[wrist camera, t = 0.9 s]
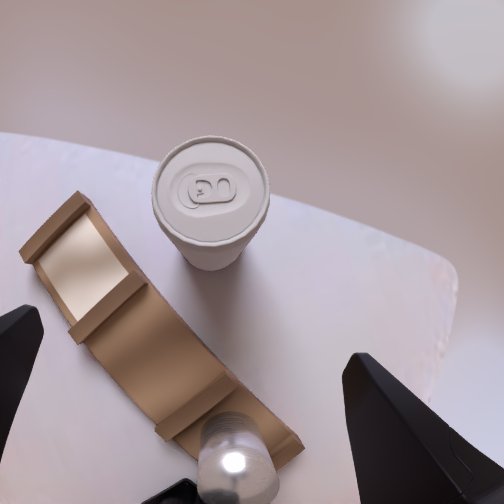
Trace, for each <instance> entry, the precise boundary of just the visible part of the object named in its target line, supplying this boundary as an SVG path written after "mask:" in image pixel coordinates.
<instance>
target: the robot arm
mask: <svg viewBox="0 0 504 504" xmlns="http://www.w3.org/2000/svg"><path fill="white" fill-rule="evenodd" d="M43 335H44V329H43V325H42V322H41V318H40V315H39V311H38V309H37V308H36V307H34V306H31V305H26V304H25V305H22V306H20V307H18V308H16V309H14V310H13V311H11V312H9V313H7V314H5V315H3V316H1V317H0V462H1V458H2V454H3V451H4V448H5V444H6V441H7V438H8V435H9V431H10V428H11V425H12V422H13V420H14V417H15V414H16V411H17V408H18V406H19V403H20V400H21V398H22V395H23V393H24V390H25V388H26V385H27V383H28V380H29V377H30V374H31V372H32V368H33V365H34V362H35V359H36V356H37V353H38V350H39V347H40V344H41V341H42V339H43ZM342 384H343V394H344V404H345V416H346V424H347V430H348V435H349V440H350V445H351V450H352V456H353V461H354V466H355V472H356V478H357V483H358V489H359V495H360V502H361V504H504V469H503V468H502V467H501V466H499V465H498V464H497V463H495V462H494V461H493V460H491V459H490V458H488V457H487V456H486V455H484V454H483V453H481V452H480V451H479V450H478V449H476V448H475V447H473V446H472V445H471V444H470V443H468V442H467V441H466V440H465V439H464V438H463V437H462V436H460V435H459V434H458V433H457V432H456V431H455V430H454V429H452V428H451V427H449V425H448V424H447V423H446V422H444V421H443V420H442V419H441V418H440V417H439V416H438V415H437V414H436V413H435V412H433V411H432V410H431V409H430V408H429V407H428V406H427V405H426V404H424V403H423V402H422V401H421V400H420V399H419V398H418V397H417V396H415V395H414V394H413V393H412V392H411V391H410V390H409V389H408V388H406V387H405V386H404V385H403V384H402V383H401V382H400V381H399V380H397V379H396V378H395V377H394V376H393V375H392V374H391V373H390V372H388V371H387V370H386V369H385V368H384V367H383V366H382V365H381V364H380V363H378V362H377V361H376V360H375V359H374V358H373V357H372V356H371V355H369V354H368V353H354V354H353V355H352V356H351V358H350V360H349V362H348V364H347V366H346V367H345V369H344V371H343V374H342ZM184 483H188V484H184ZM141 504H206V503H205V502H204V501H203V500H202V499H201V498H200V496H199V494H198V490H197V485H196V484H195V483H194V482H192V481H191V480H189V479H186V478H185V479H182V480H180V481H179V482H177V483H175V484H174V485H172V486H170V487H169V488H167V489H165V490H164V491H162V492H160V493H158V494H157V495H155V496H153V497H151V498H150V499H148V500H146V501H144V502H142V503H141Z"/></svg>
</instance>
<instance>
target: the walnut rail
mask: <svg viewBox="0 0 504 504" xmlns="http://www.w3.org/2000/svg"><path fill="white" fill-rule="evenodd" d="M19 253H20V255H21V257H22V259H23V261H24V263H27V264H32V265H33V266H34V268H35V270H36V271H37V273H38V275H39V277H40V278H41V280H42V282H43V283H44V285H45V286H46V288H47V290H48V291H49V293H50V294H51V296H52V298H53V299H54V301H55V302H56V304H57V305H58V307H59V308H60V310H61V311H62V313H63V314H64V316H65V317H66V318H67V320H68V321H69V323H70V324H71V326H72V328H71V329H70V330H69V331H68V333H69V334H70V335H71V337H72V338H73V339H74V341H75V342H76V343H77V345H79V344H81V343H85V344H86V346H87V347H88V348H89V350H90V351H91V352H92V353H93V355H94V356H95V357H96V358H97V360H98V361H99V362H100V363H101V365H102V366H103V367H104V368H105V369H106V371H107V372H108V373H109V374H110V375H111V376H112V378H113V379H114V380H115V381H116V382H117V383H118V384H119V386H120V387H121V388H122V389H123V390H124V391H125V392H126V393H127V394H128V395H129V396H130V398H131V399H132V400H133V401H134V402H135V403H136V404H137V405H138V406H139V407H140V408H141V409H142V410H143V411H144V412H145V413H146V414H147V415H148V416H149V417H150V418H151V419H152V420H153V421H154V422H155V423H156V424H157V426H156V428H155V432H156V433H157V434H158V435H159V436H160V437H162V438H163V439H164V440H165V441H166V442H167V441H168V440H170V439H171V438H172V439H173V440H174V441H176V442H177V443H178V444H179V445H180V446H181V447H182V448H184V449H185V450H186V451H187V452H188V453H189V454H191V455H192V456H193V457H194V458H195V459H197V460H198V461H199V446H200V432H201V429H202V426H203V425H204V423H205V422H206V421H207V420H208V419H209V418H211V417H212V416H214V415H216V414H218V413H222V412H227V411H234V412H240V413H243V414H246V415H248V416H249V417H251V418H252V419H253V420H254V421H255V422H256V423H257V425H258V426H259V429H260V431H261V434H262V437H263V439H264V442H265V445H266V447H267V450H268V453H269V455H270V458H271V460H272V463H273V465H274V468H275V471H277V470H278V469H279V468H281V467H282V466H283V465H285V464H286V463H287V462H289V461H290V460H291V459H293V458H294V457H295V456H296V455H298V454H299V453H300V452H301V451H303V450H304V449H305V447H304V446H303V444H302V442H301V440H300V439H299V437H298V436H297V434H295V433H294V432H293V431H292V430H291V429H290V428H289V427H288V426H286V425H285V424H284V423H283V422H282V421H281V420H280V419H279V418H278V417H277V416H275V415H274V414H273V413H272V412H271V411H270V410H269V409H268V408H267V407H266V406H265V405H264V404H263V403H262V402H261V401H260V400H259V399H258V398H256V397H255V396H254V395H253V394H252V393H251V392H250V391H249V390H248V389H247V388H246V387H245V386H244V385H243V384H242V383H241V382H240V381H239V380H238V379H237V378H236V377H235V376H234V375H233V374H232V373H231V372H230V371H229V370H228V368H227V367H226V366H225V365H224V364H223V363H222V362H221V361H220V360H219V359H218V358H217V357H216V356H215V355H214V354H213V353H212V352H211V351H210V349H209V348H208V347H207V346H206V345H205V344H204V343H203V342H202V341H201V340H200V339H199V337H198V336H197V335H196V334H195V333H194V332H193V331H192V330H191V329H190V327H189V326H188V325H187V324H186V323H185V322H184V321H183V319H182V318H181V317H180V316H179V315H178V314H177V313H176V311H175V310H174V309H173V308H172V307H171V306H170V304H169V303H168V302H167V301H166V300H165V298H164V297H163V296H162V295H161V294H160V292H159V291H158V290H157V289H156V288H155V286H154V285H153V284H152V283H151V281H150V280H149V279H148V278H147V276H146V275H145V274H144V273H143V271H142V270H141V269H140V268H139V266H138V265H137V264H136V262H135V261H134V260H133V259H132V257H131V256H130V255H129V253H128V252H127V251H126V249H125V248H124V247H123V245H122V244H121V243H120V241H119V240H118V239H117V237H116V236H115V235H114V233H113V232H112V231H111V229H110V228H109V226H108V225H107V224H106V222H105V221H104V219H103V218H102V217H101V215H100V214H99V212H98V211H97V209H96V208H95V207H94V205H93V204H92V202H91V201H90V199H88V198H87V197H86V196H85V195H83V194H82V193H80V192H79V191H77V192H76V193H74V194H73V195H72V196H71V197H70V198H69V199H68V200H67V201H66V202H65V203H64V204H63V205H62V206H61V207H60V208H59V209H58V210H57V211H56V212H55V213H54V214H53V215H52V216H51V217H50V218H49V219H48V220H47V221H46V222H45V223H44V224H43V225H42V226H41V227H40V228H39V229H38V230H37V231H36V232H35V234H34V235H33V236H32V237H31V238H30V239H29V240H28V241H27V242H26V243H25V245H24V246H23V247H22V248H21V249H20V250H19Z"/></svg>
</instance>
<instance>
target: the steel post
mask: <svg viewBox="0 0 504 504" xmlns="http://www.w3.org/2000/svg"><path fill="white" fill-rule="evenodd" d="M197 490H198V494H199V496H200V498H201V499H202V500H203V501H204V502H205V503H206V504H269V503H270V502H271V501H272V500H273V499H274V498H275V496H276V495H277V493H278V490H279V478H278V476H277V473H276V471H275V468H274V465H273V463H272V460H271V458H270V455H269V453H268V450H267V447H266V445H265V442H264V439H263V437H262V434H261V431H260V429H259V426H258V425H257V423H256V422H255V421H254V420H253V419H252V418H251V417H249V416H248V415H246V414H243V413H240V412H234V411H227V412H222V413H218V414H216V415H214V416H212V417H211V418H209V419H208V420H207V421H206V422H205V423H204V425H203V426H202V429H201V432H200V446H199V462H198V479H197Z"/></svg>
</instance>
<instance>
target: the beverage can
mask: <svg viewBox="0 0 504 504" xmlns="http://www.w3.org/2000/svg"><path fill="white" fill-rule="evenodd" d="M151 194H152V205H153V211H154V215H155V217H156V219H157V221H158V223H159V226H160V228H161V229H162V230H163V232H164V233H165V234H166V235H167V236H168V238H169V239H170V240H171V241H172V243H173V244H174V245H175V246H176V247H177V249H178V250H179V251H180V252H181V253H182V255H183V256H184V257H185V258H186V259H187V260H188V261H189V263H190V264H192V265H193V266H195V267H197V268H199V269H202V270H205V271H216V270H219V269H223V268H224V267H226V266H228V265H230V264H231V263H232V262H233V261H235V260H236V259H237V257H238V256H239V255H240V253H241V252H242V251H243V249H244V248H245V247H246V246H247V244H248V243H249V242H250V241H251V239H252V238H253V237H254V235H255V234H256V233H257V231H258V230H259V228H260V226H261V225H262V223H263V222H264V220H265V218H266V214H267V211H268V208H269V202H270V184H269V180H268V177H267V173H266V170H265V168H264V166H263V164H262V163H261V161H260V160H259V158H258V157H257V156H256V155H255V154H254V153H253V152H252V151H251V150H250V149H249V148H248V147H246V146H244V145H243V144H241V143H239V142H237V141H236V140H232V139H229V138H225V137H222V136H203V137H198V138H193V139H191V140H188V141H186V142H184V143H182V144H180V145H178V146H177V147H176V148H174V149H173V150H172V151H171V152H169V153H168V154H167V155H166V157H165V158H164V159H163V160H162V162H161V163H160V164H159V166H158V169H157V171H156V173H155V176H154V178H153V185H152V193H151Z"/></svg>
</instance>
